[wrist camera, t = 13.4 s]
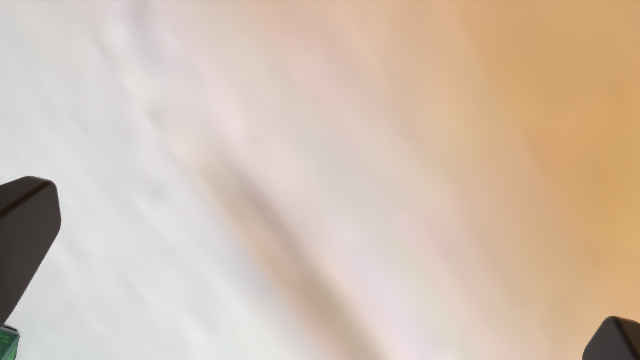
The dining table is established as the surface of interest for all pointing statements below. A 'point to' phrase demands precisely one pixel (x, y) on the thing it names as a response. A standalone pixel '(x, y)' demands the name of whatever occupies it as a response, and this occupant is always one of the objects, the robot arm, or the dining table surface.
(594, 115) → the dining table surface
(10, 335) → the coffee box
